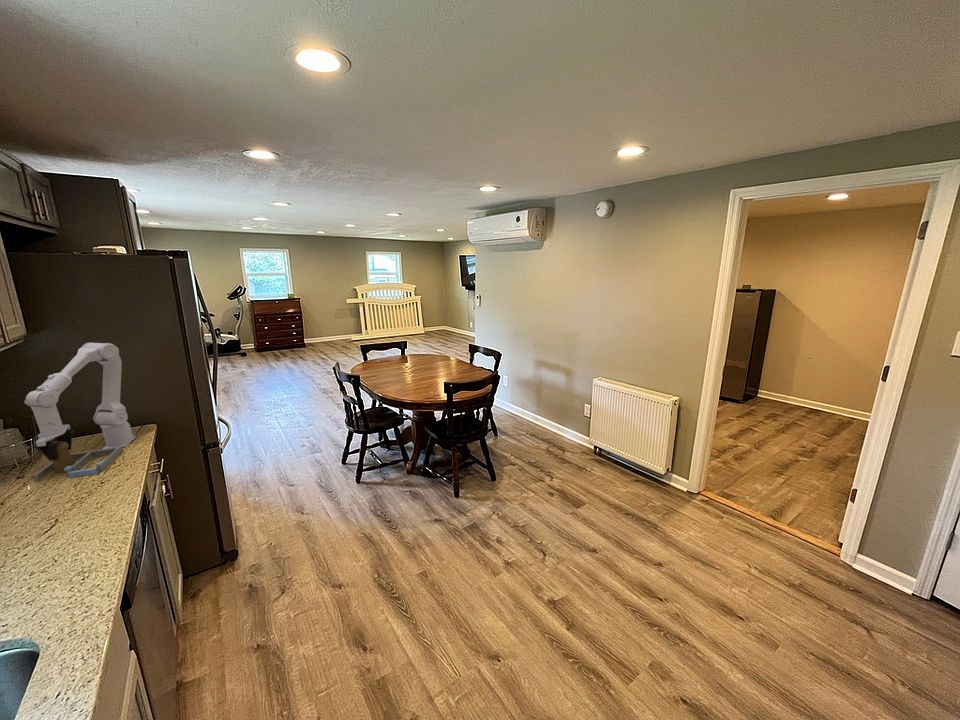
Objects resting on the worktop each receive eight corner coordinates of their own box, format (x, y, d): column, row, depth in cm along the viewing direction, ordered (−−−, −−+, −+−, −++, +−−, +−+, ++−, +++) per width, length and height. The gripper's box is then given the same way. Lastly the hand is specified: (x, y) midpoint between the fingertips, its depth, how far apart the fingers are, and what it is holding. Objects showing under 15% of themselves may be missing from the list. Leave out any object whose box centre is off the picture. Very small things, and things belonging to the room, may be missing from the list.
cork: (65, 473, 141) (55, 447, 138) (49, 473, 141) (39, 447, 138) (81, 464, 146) (73, 439, 143) (66, 464, 147) (57, 439, 143)
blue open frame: (62, 460, 149) (60, 453, 148) (123, 451, 156) (121, 444, 155) (32, 483, 135) (29, 475, 134) (101, 473, 141) (98, 465, 140)
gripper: (48, 415, 143) (59, 447, 147) (19, 431, 130) (32, 466, 134) (72, 412, 146) (82, 444, 149) (46, 428, 133) (58, 463, 136)
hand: (60, 454), depth 142 cm, fingers open, 7 cm apart
